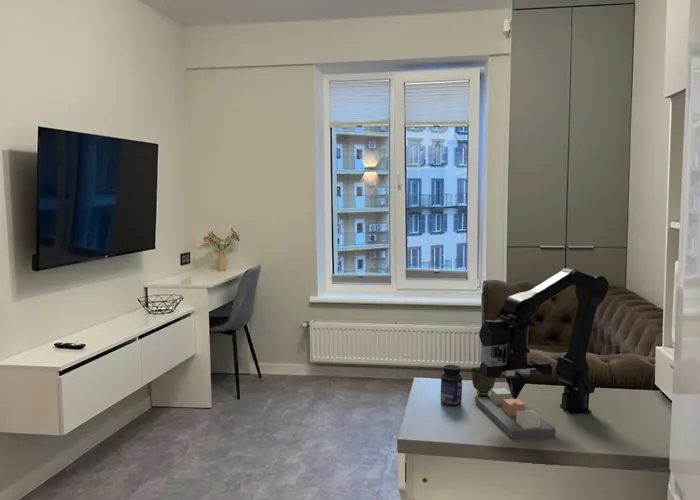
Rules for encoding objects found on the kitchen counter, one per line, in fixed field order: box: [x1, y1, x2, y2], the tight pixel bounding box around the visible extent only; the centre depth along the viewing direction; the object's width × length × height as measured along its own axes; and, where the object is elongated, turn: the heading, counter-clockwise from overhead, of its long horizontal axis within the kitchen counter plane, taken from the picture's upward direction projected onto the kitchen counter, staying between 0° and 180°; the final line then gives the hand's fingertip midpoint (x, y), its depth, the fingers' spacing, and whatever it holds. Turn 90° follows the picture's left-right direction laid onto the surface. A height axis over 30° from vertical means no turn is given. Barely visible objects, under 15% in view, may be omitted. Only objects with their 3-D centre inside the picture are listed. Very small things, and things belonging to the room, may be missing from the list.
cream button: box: [516, 409, 541, 429], centre depth 159 cm, size 4×4×3 cm
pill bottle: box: [440, 364, 463, 408], centre depth 178 cm, size 6×6×11 cm
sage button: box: [489, 387, 512, 405], centre depth 175 cm, size 4×4×3 cm
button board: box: [475, 395, 556, 440], centre depth 167 cm, size 12×24×2 cm, turn 10°
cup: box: [470, 366, 497, 398], centre depth 185 cm, size 8×7×8 cm
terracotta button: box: [502, 398, 526, 416], centre depth 167 cm, size 4×4×3 cm
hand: (514, 398), depth 167 cm, fingers closed
